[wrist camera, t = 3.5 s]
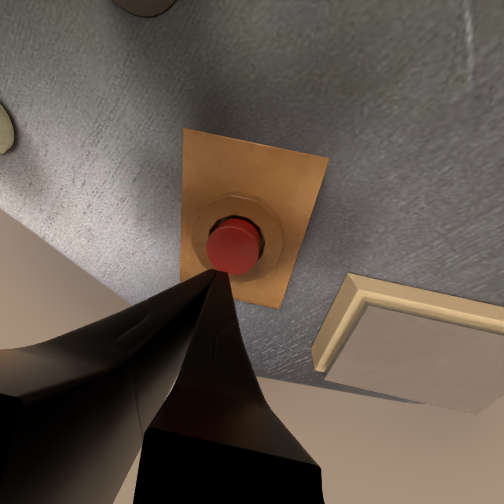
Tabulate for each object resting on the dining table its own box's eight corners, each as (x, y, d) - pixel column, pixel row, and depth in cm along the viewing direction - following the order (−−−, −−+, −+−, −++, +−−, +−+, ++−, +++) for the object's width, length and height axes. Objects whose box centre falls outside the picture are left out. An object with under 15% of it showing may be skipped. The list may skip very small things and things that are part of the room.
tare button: (255, 266, 13) (253, 280, 12) (212, 256, 14) (203, 269, 12) (265, 224, 12) (263, 233, 10) (216, 213, 12) (207, 221, 11)
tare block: (279, 295, 18) (280, 323, 15) (188, 275, 18) (170, 298, 15) (322, 159, 13) (338, 157, 10) (194, 132, 13) (169, 122, 10)
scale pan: (470, 407, 18) (476, 415, 17) (322, 373, 18) (323, 380, 17) (556, 342, 14) (568, 350, 13) (365, 300, 14) (368, 305, 13)
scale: (446, 380, 20) (466, 406, 18) (310, 349, 21) (314, 370, 19) (521, 310, 16) (560, 333, 14) (347, 272, 16) (358, 289, 14)
